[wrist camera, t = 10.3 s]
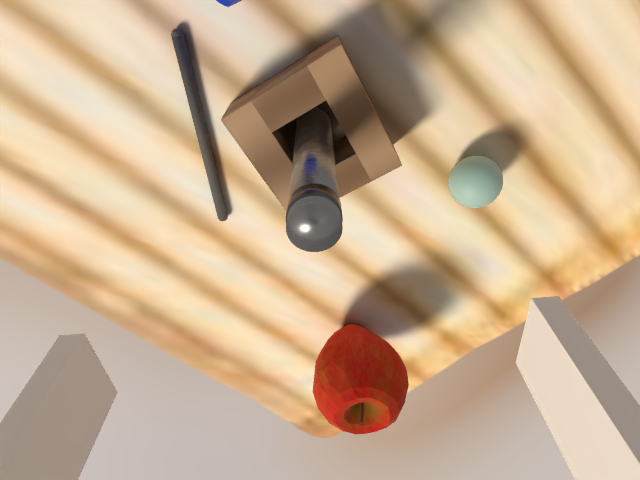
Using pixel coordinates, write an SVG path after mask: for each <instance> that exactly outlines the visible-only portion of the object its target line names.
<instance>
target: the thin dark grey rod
mask: <svg viewBox="0 0 640 480" xmlns="http://www.w3.org/2000/svg"><path fill="white" fill-rule="evenodd" d="M171 36H172V40H173V44H174V48H175V52H176V56H177V59H178V63H179V67H180V71H181V75H182V79H183V83H184V87H185V91H186V95H187V98H188V102H189V106H190V110H191V114H192V118H193V122H194V126H195V130H196V134H197V138H198V141H199V145H200V149H201V153H202V157H203V161H204V165H205V169H206V173H207V177H208V180H209V184H210V188H211V192H212V196H213V200H214V204H215V208H216V212H217V216H218V219H219V220H220V221H225V220H226V219H227V217H228V216H227V212H226V208H225V203H224V199H223V195H222V191H221V187H220V183H219V179H218V174H217V170H216V166H215V162H214V158H213V154H212V150H211V145H210V141H209V137H208V133H207V129H206V125H205V121H204V116H203V112H202V108H201V104H200V100H199V96H198V92H197V87H196V83H195V79H194V75H193V71H192V67H191V63H190V58H189V54H188V50H187V46H186V42H185V38H184V34H183V32H182V31H181V30H180V29H174V30H173V31H172V33H171Z"/></svg>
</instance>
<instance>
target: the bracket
mask: <svg viewBox="0 0 640 480" xmlns="http://www.w3.org/2000/svg"><path fill="white" fill-rule="evenodd" d="M216 1H218V2H219V3H221V4H222V5H224V6H227V7H229V6H231V5H233V4H235V3H237V2H239V1H241V0H216Z"/></svg>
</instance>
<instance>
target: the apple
mask: <svg viewBox="0 0 640 480" xmlns="http://www.w3.org/2000/svg"><path fill="white" fill-rule="evenodd" d="M407 389H408V376H407V371H406V367H405V365H404V363H403V361H402V359H401V358H400V356H399V355H398V353H397V352H396V351H395V349H394V348H393V347H392V346H391V345H390V344H389V343H388V342H386V341H385V340H383V339H382V338H380V337H379V336H377V335H375V334H374V333H372V332H371V331H369V330H368V329H366V328H363V327H361V326H359V325H355V324H349V325H346V326H344V327H342V328H341V329H339V330H338V331H336V332H335V333H334V334H333V335H332V336H331V337H330V338H329V339H328V341H327V342H326V344H325V346H324V347H323V349H322V350H321V352H320V354H319V356H318V358H317V360H316V365H315V375H314V384H313V394H314V397H315V400H316V403H317V406H318V409H319V410H320V412H321V413H322V414H323V415H324V417H325V418H326V419H327V420H328V422H329V423H330V424H332V425H334V426H335V427H337V428H339V429H340V430H342V431H345V432H350V433H354V434H366V433H371V432H375V431H379V430H381V429H384V428H386V427H388V426H389V425H391V424H392V423H394V422H395V421H396V419H397V417H398V415H399V413H400V411H401V409H402V407H403V405H404V403H405V398H406V393H407Z"/></svg>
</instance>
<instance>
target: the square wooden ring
mask: <svg viewBox="0 0 640 480" xmlns="http://www.w3.org/2000/svg"><path fill="white" fill-rule="evenodd" d="M324 101H327V103H328V105H329V106H330V108H331V110H332V112H333V113H334V115H335V117H336V119H337V121H338V122H339V124H340V126H341V128H342V129H343V131H344V133H345V135H346V138H344V139H342V140H341V141H339V142H337V143H335V144H333V147H334V156H335V165H336V174H337V183H338V192H339V198H340V197H342V196H344V195H346V194H348V193H350V192H352V191H354V190H356V189H357V188H359V187H361V186H363V185H365V184H367V183H369V182H371V181H373V180H375V179H377V178H379V177H381V176H383V175H385V174H386V173H388V172H390V171H392V170H394V169H396V168H398V167H400V166H402V164H401V161H400V159H399V157H398V155H397V153H396V150H395V148H394V146H393V144H392V142H391V140H390V138H389V136H388V134H387V132H386V130H385V128H384V126H383V124H382V122H381V120H380V118H379V116H378V114H377V112H376V110H375V108H374V106H373V104H372V102H371V100H370V98H369V96H368V94H367V92H366V90H365V88H364V86H363V84H362V82H361V80H360V78H359V76H358V74H357V72H356V70H355V69H354V67H353V65H352V63H351V61H350V59H349V57H348V55H347V53H346V51H345V49H344V47H343V45H342V43H341V41H340V39H339V37H338V36H336V37H334V38H333V39H331V40H330V41H328V42H327V43H325V44H323V45H322V46H320V47H319V48H317V49H315V50H314V51H312V52H311V53H309V54H308V55H306V56H304V57H303V58H301V59H300V60H298V61H297V62H295V63H293V64H292V65H290V66H289V67H287V68H285V69H284V70H282V71H281V72H279V73H278V74H276V75H274V76H273V77H271V78H270V79H268V80H267V81H265V82H263V83H262V84H260V85H259V86H257V87H255V88H254V89H252V90H251V91H249V92H248V93H246V94H244V95H243V96H241V97H240V98H238V99H237V100H235V101H233V102H232V103H231V104H230V105H229V107H228V109H227V110H226V112H225V114H224V115H223V117H222V119H221V121H222V122H223V124H224V125H225V126H226V128H227V129H228V131H229V132H230V133H231V135H232V136H233V138H234V139H235V140H236V142H237V143H238V145H239V146H240V147H241V149H242V150H243V152H244V153H245V154H246V156H247V157H248V159H249V160H250V161H251V163H252V164H253V166H254V167H255V168H256V170H257V171H258V173H259V174H260V175H261V177H262V178H263V180H264V181H265V182H266V184H267V185H268V186H269V188H270V189H271V191H272V192H273V193H274V195H275V196H276V198H277V199H278V200H279V202H280V203H281V205H282V206H283V207H284V209H285V210H286V212H287V204H288V200H289V194H290V184H291V175H292V165H293V155H294V146H295V144H294V142H293V141H292V139H291V138H290V136H289V134H288V133H287V131H286V130H285V128H284V127H283V126H284V125H285V124H287V123H289V122H290V121H292V120H294V119H295V118H297V117H299V116H301V115H302V114H304V113H306V112H307V111H309V110H311V109H312V108H314V107H316V106H317V105H319V104H321V103H323V102H324Z"/></svg>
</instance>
